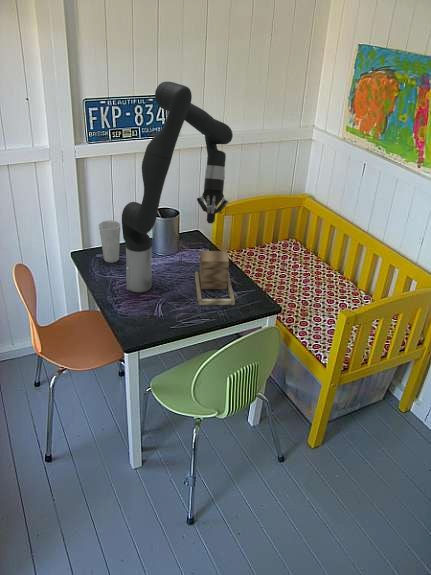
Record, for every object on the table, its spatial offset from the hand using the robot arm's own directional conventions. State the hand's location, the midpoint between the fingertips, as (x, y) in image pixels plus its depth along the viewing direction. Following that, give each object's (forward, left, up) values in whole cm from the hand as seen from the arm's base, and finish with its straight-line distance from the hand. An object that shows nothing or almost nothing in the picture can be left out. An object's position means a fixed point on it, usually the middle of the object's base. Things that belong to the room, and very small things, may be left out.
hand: (210, 223), depth 213 cm
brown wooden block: (+1, -16, -18) cm, 24 cm away
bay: (+1, -20, -19) cm, 28 cm away
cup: (-39, +5, -19) cm, 44 cm away
